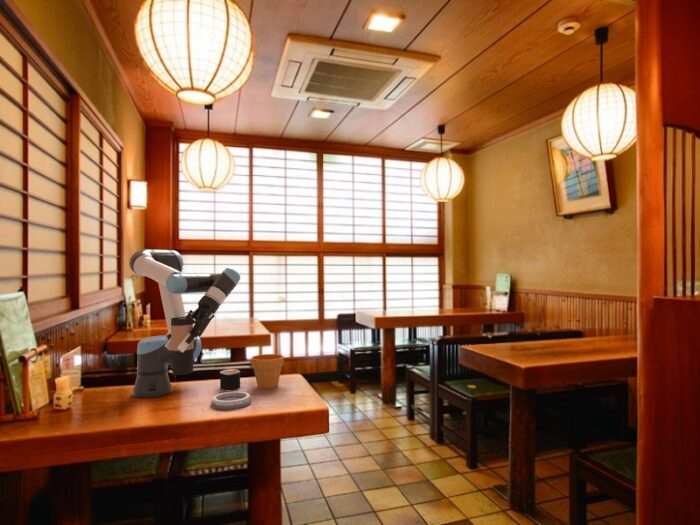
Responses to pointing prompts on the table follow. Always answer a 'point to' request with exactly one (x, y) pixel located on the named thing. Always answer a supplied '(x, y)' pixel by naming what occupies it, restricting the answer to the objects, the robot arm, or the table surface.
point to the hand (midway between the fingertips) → (173, 349)
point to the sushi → (229, 379)
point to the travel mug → (179, 331)
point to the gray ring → (231, 400)
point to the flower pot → (267, 369)
